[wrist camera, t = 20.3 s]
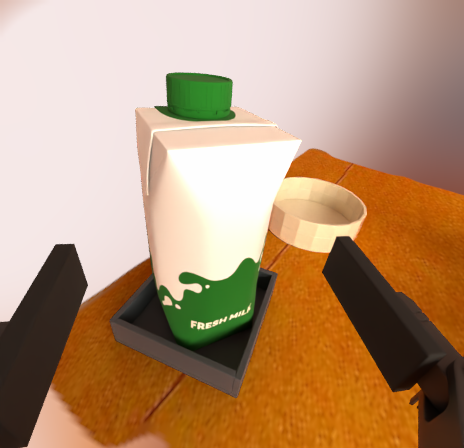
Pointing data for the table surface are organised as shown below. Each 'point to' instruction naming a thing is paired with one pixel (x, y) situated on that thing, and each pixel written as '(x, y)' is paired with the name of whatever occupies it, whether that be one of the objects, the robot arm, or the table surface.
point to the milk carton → (208, 203)
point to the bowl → (315, 213)
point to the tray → (189, 362)
